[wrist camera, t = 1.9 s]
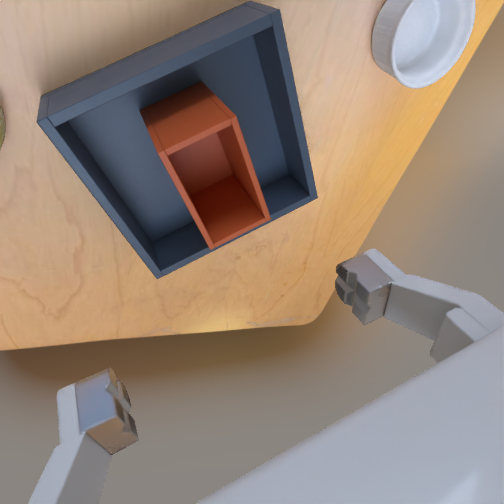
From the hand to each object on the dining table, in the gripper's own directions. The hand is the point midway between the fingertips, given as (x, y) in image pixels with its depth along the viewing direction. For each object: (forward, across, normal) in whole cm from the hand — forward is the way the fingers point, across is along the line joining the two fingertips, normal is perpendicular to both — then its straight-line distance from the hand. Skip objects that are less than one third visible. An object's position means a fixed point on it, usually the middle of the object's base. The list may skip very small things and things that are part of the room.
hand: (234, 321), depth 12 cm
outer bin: (+26, -6, +6) cm, 27 cm away
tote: (+25, -6, +6) cm, 26 cm away
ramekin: (+24, -29, +1) cm, 38 cm away
